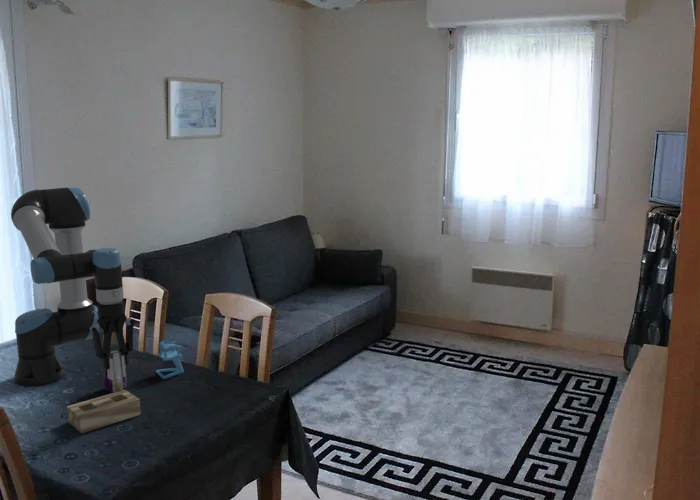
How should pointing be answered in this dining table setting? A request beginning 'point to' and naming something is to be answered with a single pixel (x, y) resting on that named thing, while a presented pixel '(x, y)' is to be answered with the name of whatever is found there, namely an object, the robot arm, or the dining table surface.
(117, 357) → the pin
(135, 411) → the hole block
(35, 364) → the robot arm
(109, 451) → the dining table surface
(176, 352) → the chair
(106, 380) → the beverage can
